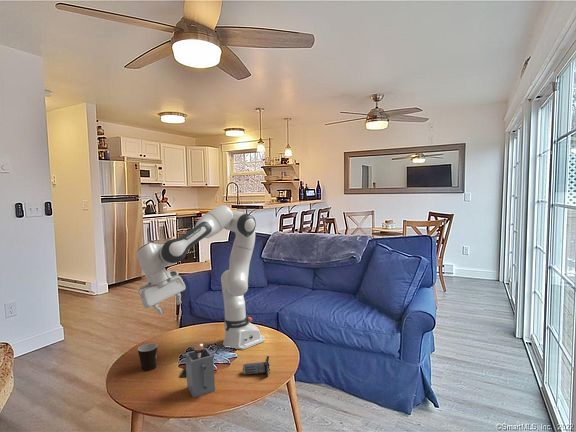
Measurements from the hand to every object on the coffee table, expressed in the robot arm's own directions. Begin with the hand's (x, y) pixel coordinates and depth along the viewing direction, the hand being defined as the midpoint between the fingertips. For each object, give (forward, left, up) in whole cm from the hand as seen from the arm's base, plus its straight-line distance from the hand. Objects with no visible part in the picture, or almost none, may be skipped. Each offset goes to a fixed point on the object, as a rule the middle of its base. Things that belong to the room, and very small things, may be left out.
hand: (170, 308), depth 155 cm
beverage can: (-32, +16, -32) cm, 48 cm away
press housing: (-7, +15, -32) cm, 36 cm away
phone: (-9, -5, -33) cm, 34 cm away
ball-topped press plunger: (-7, +14, -26) cm, 31 cm away
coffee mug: (+7, -19, -32) cm, 38 cm away
